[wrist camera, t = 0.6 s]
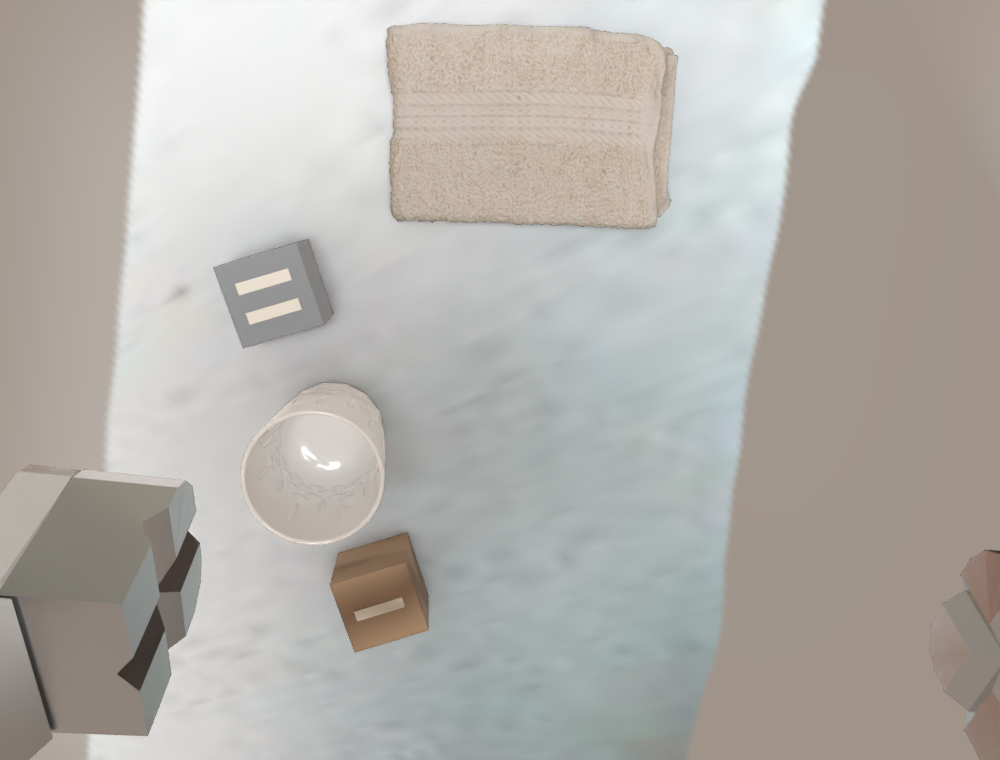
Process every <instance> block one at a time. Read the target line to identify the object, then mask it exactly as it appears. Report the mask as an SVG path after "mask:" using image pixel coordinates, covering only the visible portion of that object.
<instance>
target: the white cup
mask: <svg viewBox="0 0 1000 760" xmlns="http://www.w3.org/2000/svg"><path fill="white" fill-rule="evenodd" d="M384 483H385V436H384V430H383V425H382V420H381V415H380V411H379V410H378V409H377V407H376V406H375V405H374V404H373V402H372V401H371V400H370V398H369V397H368V396H367V394H365V393H363V392H361V391H359V390H357V389H355V388H353V387H351V386H350V385H348V384H345V383H320V384H318V385H316V386H313V387H311V388H308V389H306V390H304V391H301V392H300V393H299V395H298V396H297V397H295V398H294V399H292V400H291V401H290V402H288V403H287V404H286V405H285V406H284V407H283V408H282V409H281V410H279V411H278V412H277V413H276V414H275V415H274V416H273V417H272V419H271V420H270V421H269V422H268V423H267V424H266V425H265V426H264V427H263V428H262V429H261V430H260V431H259V432H258V433H257V434H256V435H255V437H254V438H253V439H252V441H251V442H250V444H249V446H248V448H247V450H246V452H245V454H244V457H243V461H242V466H241V487H242V492H243V495H244V498H245V501H246V503H247V505H248V507H249V509H250V511H251V512H252V514H253V515H254V516H255V518H256V519H257V520H258V521H259V522H260V523H261V524H262V525H263V526H264V527H265V528H266V529H268V530H269V531H270V532H272V533H273V534H275V535H277V536H279V537H281V538H283V539H285V540H288V541H291V542H294V543H298V544H304V545H324V544H330V543H334V542H337V541H340V540H343V539H345V538H347V537H349V536H351V535H352V534H354V533H356V532H357V531H358V530H360V529H361V528H362V527H363V526H364V525H365V524H366V523H367V522H368V521H369V520H370V519H371V517H372V516H373V515H374V513H375V512H376V510H377V508H378V506H379V504H380V501H381V498H382V495H383V491H384Z"/></svg>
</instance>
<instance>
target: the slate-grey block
mask: <svg viewBox="0 0 1000 760" xmlns="http://www.w3.org/2000/svg"><path fill="white" fill-rule="evenodd" d="M213 268H214V271H215V274H216V276H217V279H218V282H219V285H220V287H221V290H222V293H223V295H224V298H225V301H226V304H227V306H228V309H229V312H230V315H231V317H232V320H233V323H234V325H235V328H236V331H237V334H238V336H239V339H240V342H241V345H242V347H243V349H244V348H247V347H250V346H254V345H257V344H260V343H264V342H267V341H271V340H274V339H277V338H281V337H284V336H287V335H291V334H294V333H297V332H301V331H304V330H308V329H311V328H314V327H318V326H321V325H324V324H325V323H326V322H327V320H328V319H329V318H330V317H331V316H332V315H333V311H332V308H331V305H330V302H329V299H328V296H327V293H326V290H325V287H324V284H323V281H322V278H321V275H320V272H319V269H318V266H317V263H316V260H315V257H314V254H313V251H312V248H311V245H310V242H309V239H306V240H303V241H299V242H296V243H293V244H289V245H286V246H282V247H279V248H276V249H272V250H269V251H265V252H262V253H259V254H255V255H252V256H248V257H245V258H242V259H238V260H235V261H232V262H229V263H225V264H222V265H219V266H216V267H213Z"/></svg>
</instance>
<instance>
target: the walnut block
mask: <svg viewBox="0 0 1000 760" xmlns="http://www.w3.org/2000/svg"><path fill="white" fill-rule="evenodd" d="M330 587H331V589H332V592H333V595H334V598H335V600H336V603H337V606H338V609H339V611H340V614H341V617H342V619H343V622H344V625H345V628H346V630H347V633H348V636H349V639H350V641H351V644H352V647H353V649H354V652H359V651H362V650H365V649H368V648H372V647H375V646H378V645H382V644H385V643H388V642H391V641H395V640H398V639H401V638H405V637H408V636H411V635H414V634H418V633H421V632H424V631H427V630H428V592H427V589H426V586H425V583H424V580H423V577H422V574H421V572H420V569H419V566H418V563H417V560H416V557H415V554H414V551H413V548H412V545H411V542H410V539H409V536H408V533H403V534H400V535H397V536H394V537H390V538H387V539H384V540H380V541H377V542H374V543H370V544H367V545H364V546H360V547H357V548H354V549H351V550H347V551H344V552H341V553H338V556H337V560H336V564H335V568H334V571H333V575H332V579H331V583H330Z"/></svg>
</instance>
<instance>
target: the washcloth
mask: <svg viewBox="0 0 1000 760" xmlns="http://www.w3.org/2000/svg"><path fill="white" fill-rule="evenodd" d="M387 33H388V37H387V39H386V47H387V55H388V63H387V67H388V69H389V70H388V75H389V78H390V84H391V89H392V91H391V93H392V94H393V96H394V121H393V127H394V133H393V138H392V139H391V140H390V145H391V148H390V162H389V163H390V169H389V172H390V181H391V187H392V190H391V211H392V214H393V217H394V218H395V219H397V221H398V222H399V221H404V220H410V221H413V220H418V221H425V220H430V221H431V222H432V223H433V222H434V221H437V220H441V221H443V220H445V221H450V222H458V221H462V222H466V223H467V222H477V221H483V222H485V221H490V222H495V223H496V222H509V223H513V224H517V225H521V224H529V223H531V224H532V225H533V224H541V225H543V224H550V225H565V224H566V225H578V226H582V227H584V226H594V227H609V226H611V227H615V228H623V229H629V228H634V229H635V228H637V229H642V228H644V229H645V228H646V229H647V228H649V229H650V228H652V227H655V226H656V223H657V218H658V217H660V216H661V215H662V214H663V213H664V212H665V210H666V209H667V208H668V207H669V205H670V202H671V199H670V198H669V196H670V195H669V192H668V165H669V156H670V145H671V134H672V119H673V109H674V96H675V81H676V71H677V62H678V56H677V55H673V51H672V49H670V48H667V47H666V48H663V47H662V46H661V44H660V43H658V42H657V41H655V40H654V39H652V38H649V37H646V36H642V35H638V34H626V33H612V32H607V31H599V30H593V29H591V28H588V27H581V26H580V27H551V26H550V27H538V26H537V27H534V26H517V25H506V24H501V25H457V24H446V23H442V24H436V23H434V24H428V23H418V24H410V25H405V26H391V27H389V28H388V29H387Z"/></svg>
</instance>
